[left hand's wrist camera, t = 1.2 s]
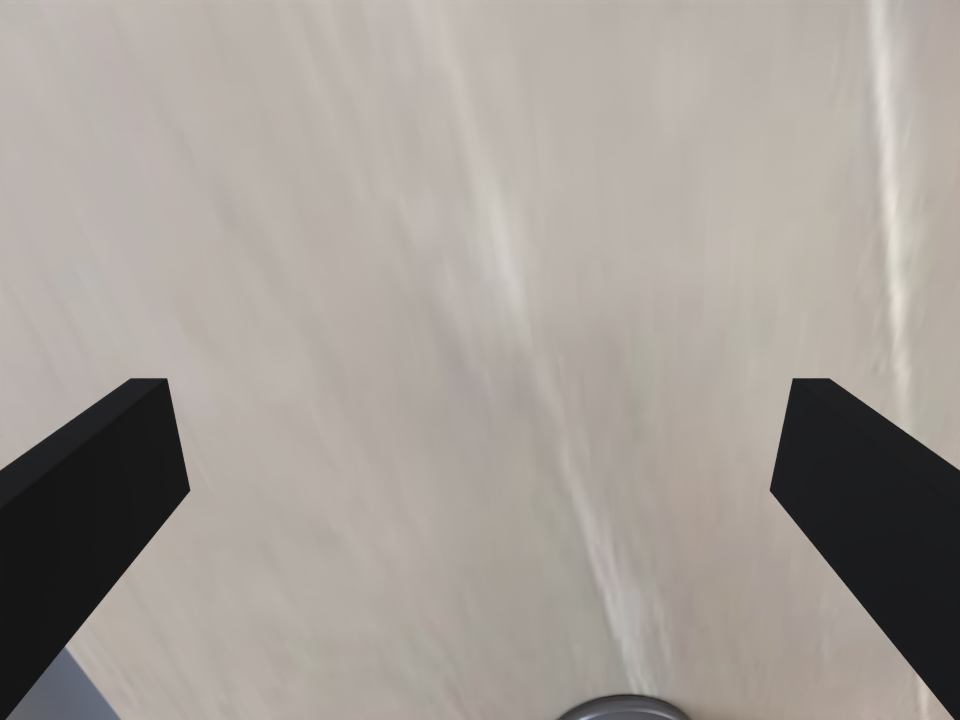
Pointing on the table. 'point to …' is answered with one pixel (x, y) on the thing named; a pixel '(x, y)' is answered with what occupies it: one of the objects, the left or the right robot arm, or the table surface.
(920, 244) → the table surface
